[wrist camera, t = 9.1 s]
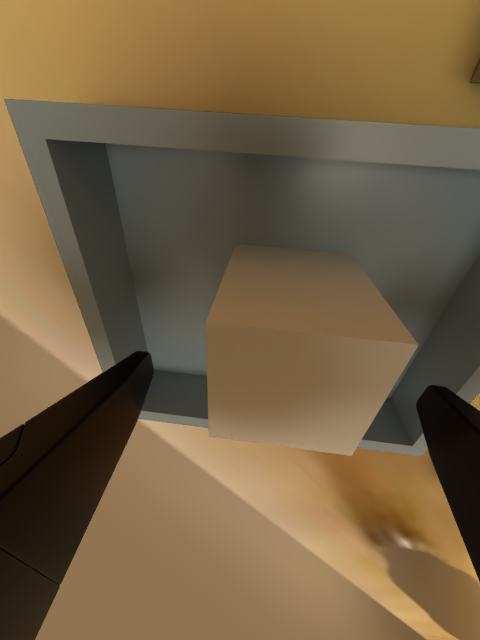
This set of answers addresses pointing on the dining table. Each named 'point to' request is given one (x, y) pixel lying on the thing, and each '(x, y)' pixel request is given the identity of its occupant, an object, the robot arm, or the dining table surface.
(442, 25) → the dining table surface
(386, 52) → the dining table surface
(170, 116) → the bin
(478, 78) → the bin
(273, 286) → the stone block
